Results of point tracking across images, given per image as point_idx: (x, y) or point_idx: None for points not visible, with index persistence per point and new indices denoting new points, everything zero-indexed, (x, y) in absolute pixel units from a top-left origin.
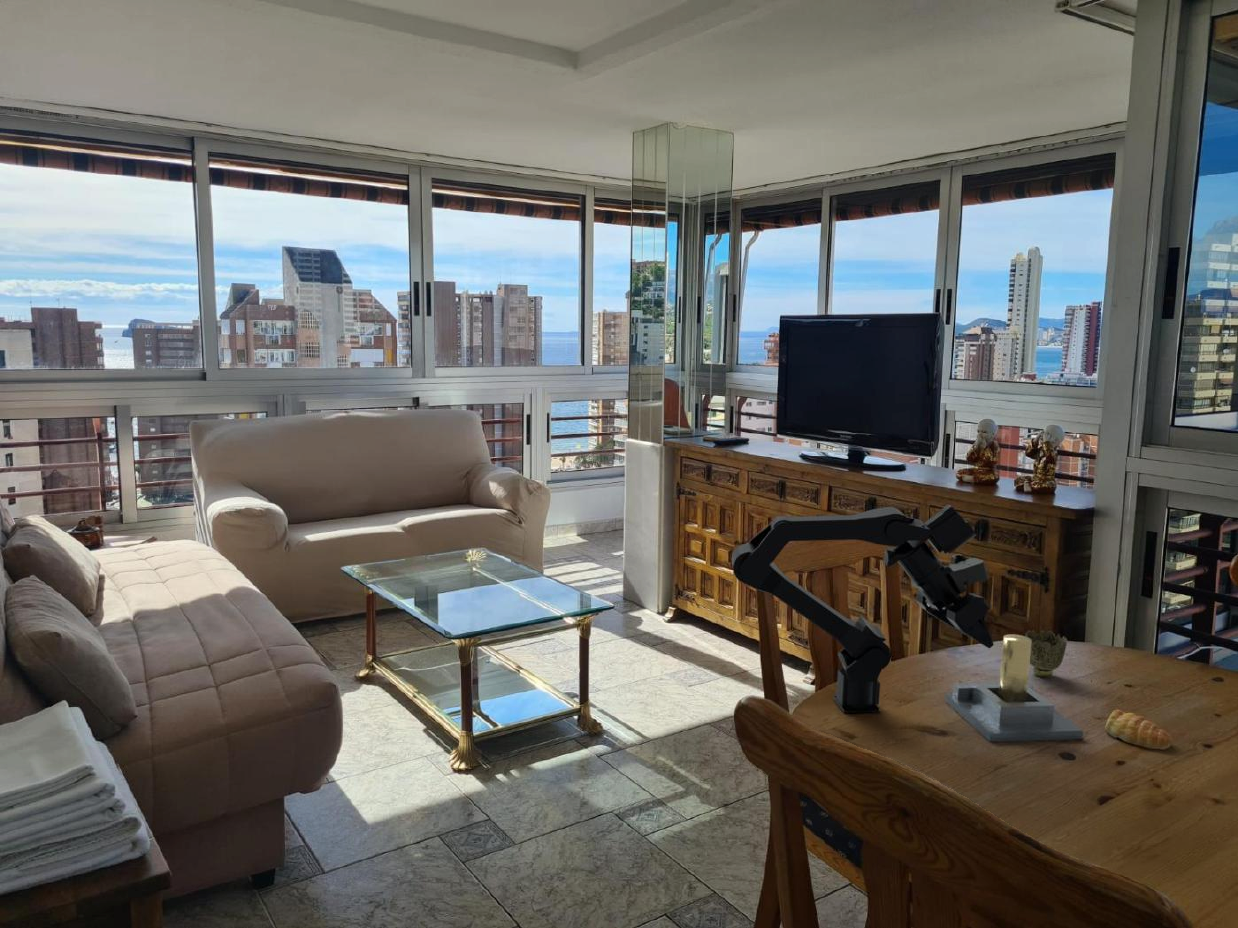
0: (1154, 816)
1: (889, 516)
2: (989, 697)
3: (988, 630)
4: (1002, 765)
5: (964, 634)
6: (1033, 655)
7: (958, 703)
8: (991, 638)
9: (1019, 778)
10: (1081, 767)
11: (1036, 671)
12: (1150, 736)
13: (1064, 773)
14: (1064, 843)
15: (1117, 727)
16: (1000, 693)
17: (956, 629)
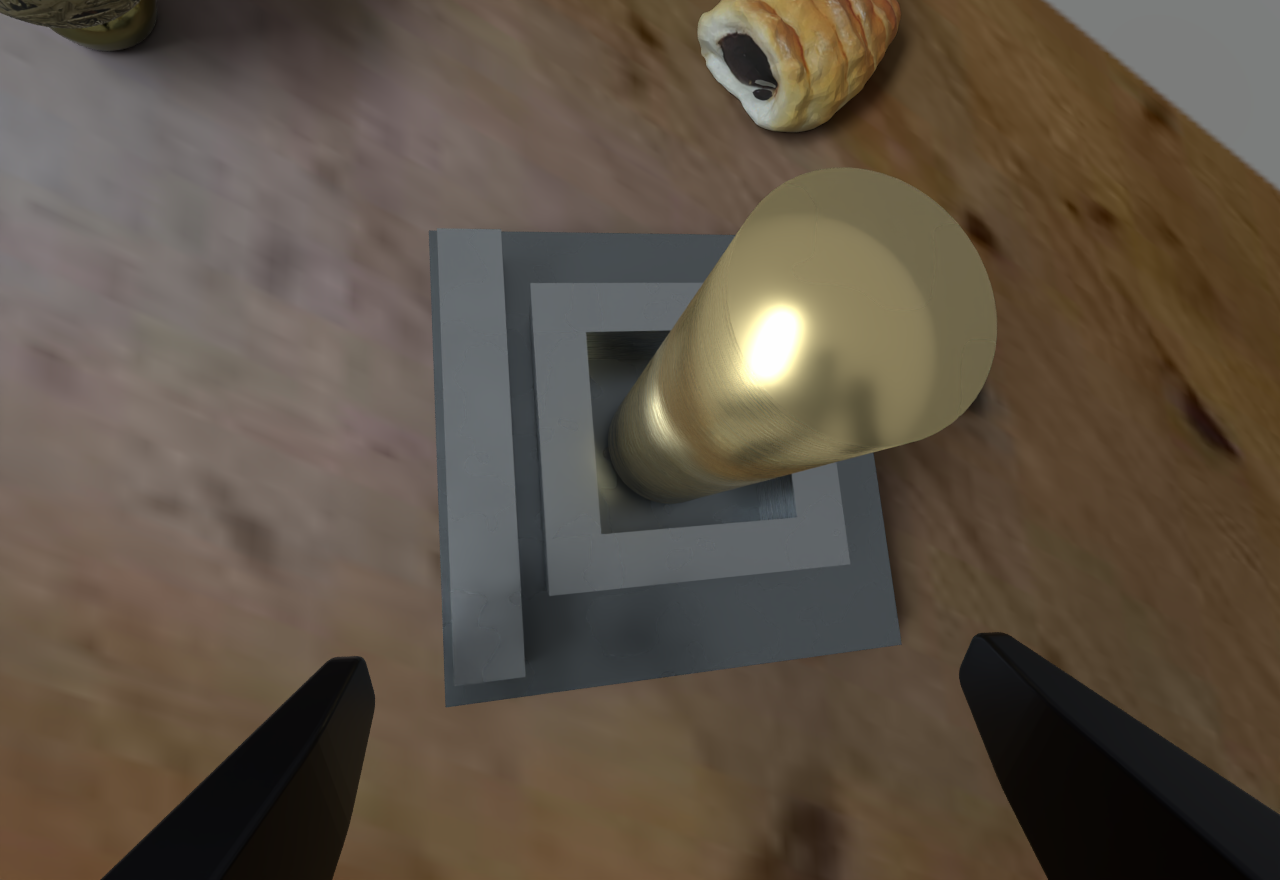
0: (1263, 337)
1: None
2: (734, 575)
3: (1260, 802)
4: None
5: (369, 730)
6: None
7: (583, 679)
8: (1089, 690)
9: (1132, 641)
10: (1029, 381)
11: (108, 36)
12: (888, 34)
13: (1076, 462)
14: None
15: (828, 98)
16: (700, 496)
17: (330, 877)
